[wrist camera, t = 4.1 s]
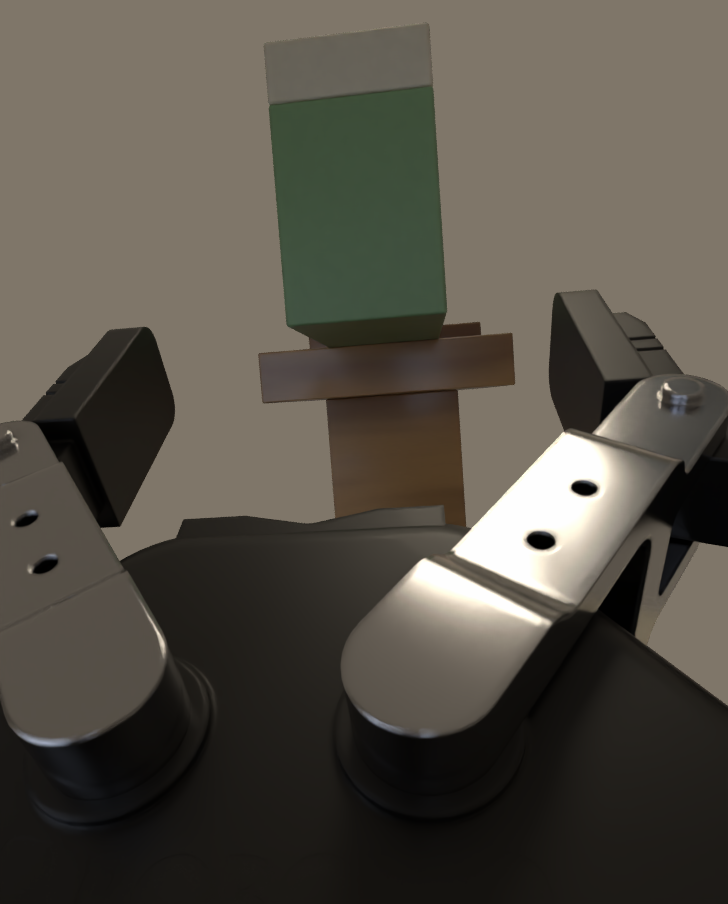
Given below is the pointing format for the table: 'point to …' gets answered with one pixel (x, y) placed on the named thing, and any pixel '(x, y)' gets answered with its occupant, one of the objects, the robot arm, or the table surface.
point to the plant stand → (393, 412)
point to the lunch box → (358, 185)
